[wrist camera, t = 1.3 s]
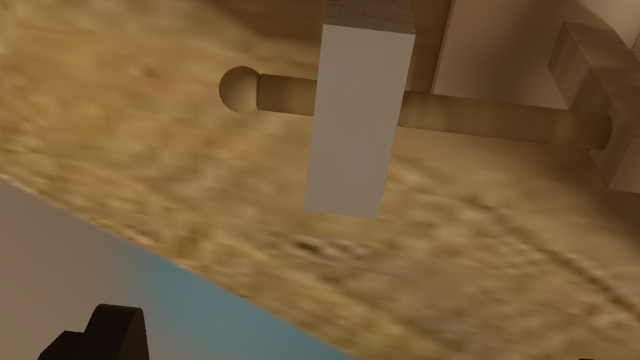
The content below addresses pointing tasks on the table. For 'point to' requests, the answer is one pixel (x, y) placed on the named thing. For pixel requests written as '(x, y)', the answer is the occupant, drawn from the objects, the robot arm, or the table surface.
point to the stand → (512, 80)
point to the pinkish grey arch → (357, 104)
